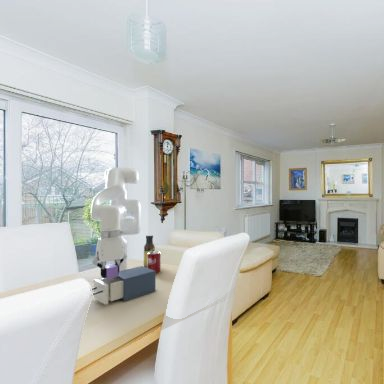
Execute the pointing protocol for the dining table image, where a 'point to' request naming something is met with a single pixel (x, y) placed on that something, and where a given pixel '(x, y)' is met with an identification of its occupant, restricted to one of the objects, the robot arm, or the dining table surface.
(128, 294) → the blue-grey drawer housing
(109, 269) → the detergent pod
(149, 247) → the sauce bottle
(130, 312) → the dining table surface
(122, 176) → the robot arm
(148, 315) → the dining table surface
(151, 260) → the soda can
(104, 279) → the white drawer
